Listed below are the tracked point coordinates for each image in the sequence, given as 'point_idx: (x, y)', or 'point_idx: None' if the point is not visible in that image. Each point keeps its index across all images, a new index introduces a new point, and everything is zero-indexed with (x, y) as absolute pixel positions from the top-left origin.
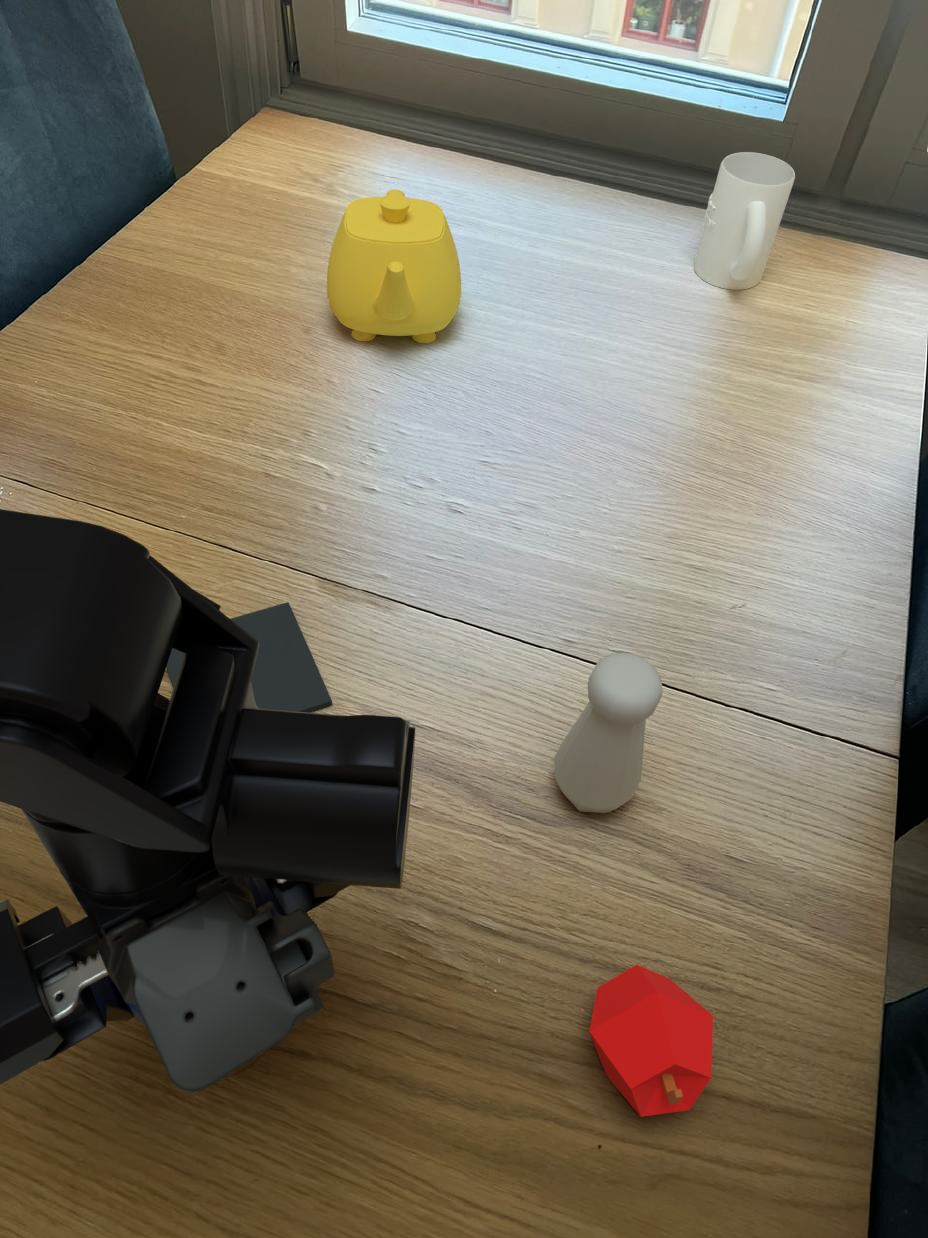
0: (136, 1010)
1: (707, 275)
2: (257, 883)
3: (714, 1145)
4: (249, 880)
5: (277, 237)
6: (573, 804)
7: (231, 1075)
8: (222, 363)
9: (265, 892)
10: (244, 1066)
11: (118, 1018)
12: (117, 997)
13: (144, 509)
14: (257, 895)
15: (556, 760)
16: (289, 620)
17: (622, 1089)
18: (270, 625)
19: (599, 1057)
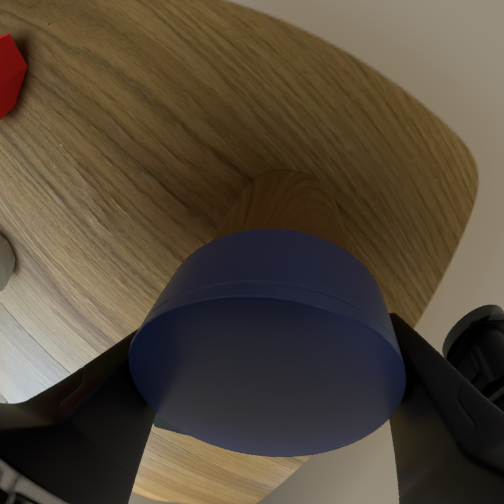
0: (402, 368)
1: (1, 397)
2: (90, 460)
3: (9, 22)
4: (123, 444)
5: (147, 486)
6: (10, 248)
7: (294, 171)
8: (173, 480)
9: (62, 461)
10: (278, 172)
11: (417, 340)
12: (412, 394)
13: (221, 470)
14: (108, 430)
15: (1, 282)
16: (155, 421)
17: (9, 51)
18: (166, 424)
19: (14, 75)
